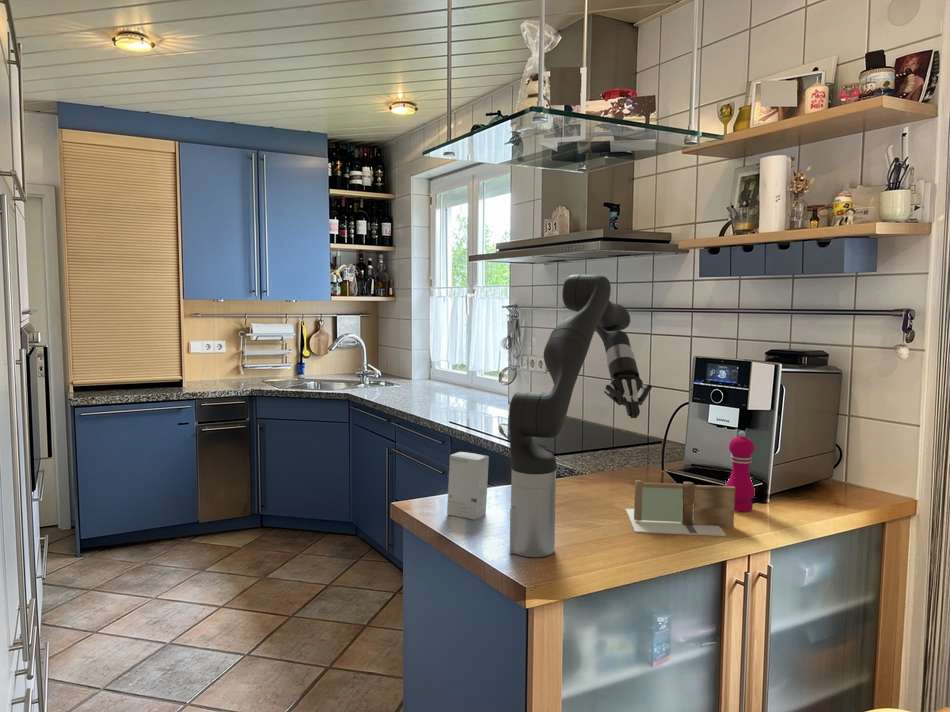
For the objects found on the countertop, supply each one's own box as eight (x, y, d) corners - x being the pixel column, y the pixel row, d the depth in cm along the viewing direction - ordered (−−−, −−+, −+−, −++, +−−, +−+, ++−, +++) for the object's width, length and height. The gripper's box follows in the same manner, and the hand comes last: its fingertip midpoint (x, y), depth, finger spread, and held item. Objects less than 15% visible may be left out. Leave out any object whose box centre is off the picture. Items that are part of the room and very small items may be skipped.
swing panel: (634, 520, 160) (635, 482, 159) (633, 518, 161) (634, 480, 161) (682, 522, 158) (683, 483, 158) (680, 520, 160) (681, 481, 160)
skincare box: (446, 515, 164) (447, 455, 163) (458, 509, 170) (458, 450, 169) (477, 520, 161) (478, 459, 160) (488, 513, 166) (489, 454, 165)
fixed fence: (683, 526, 158) (684, 484, 157) (680, 522, 161) (682, 481, 160) (734, 528, 157) (736, 485, 156) (731, 525, 159) (733, 483, 159)
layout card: (634, 532, 154) (635, 530, 154) (625, 509, 170) (625, 508, 170) (725, 536, 152) (726, 534, 152) (707, 513, 169) (707, 511, 168)
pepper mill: (754, 514, 168) (758, 434, 166) (723, 510, 170) (727, 432, 169) (753, 506, 175) (757, 429, 173) (724, 503, 177) (726, 427, 176)
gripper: (600, 355, 182) (612, 407, 171) (649, 355, 183) (663, 407, 172) (595, 373, 188) (606, 424, 177) (642, 373, 189) (656, 424, 178)
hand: (634, 416), depth 174 cm, fingers closed
